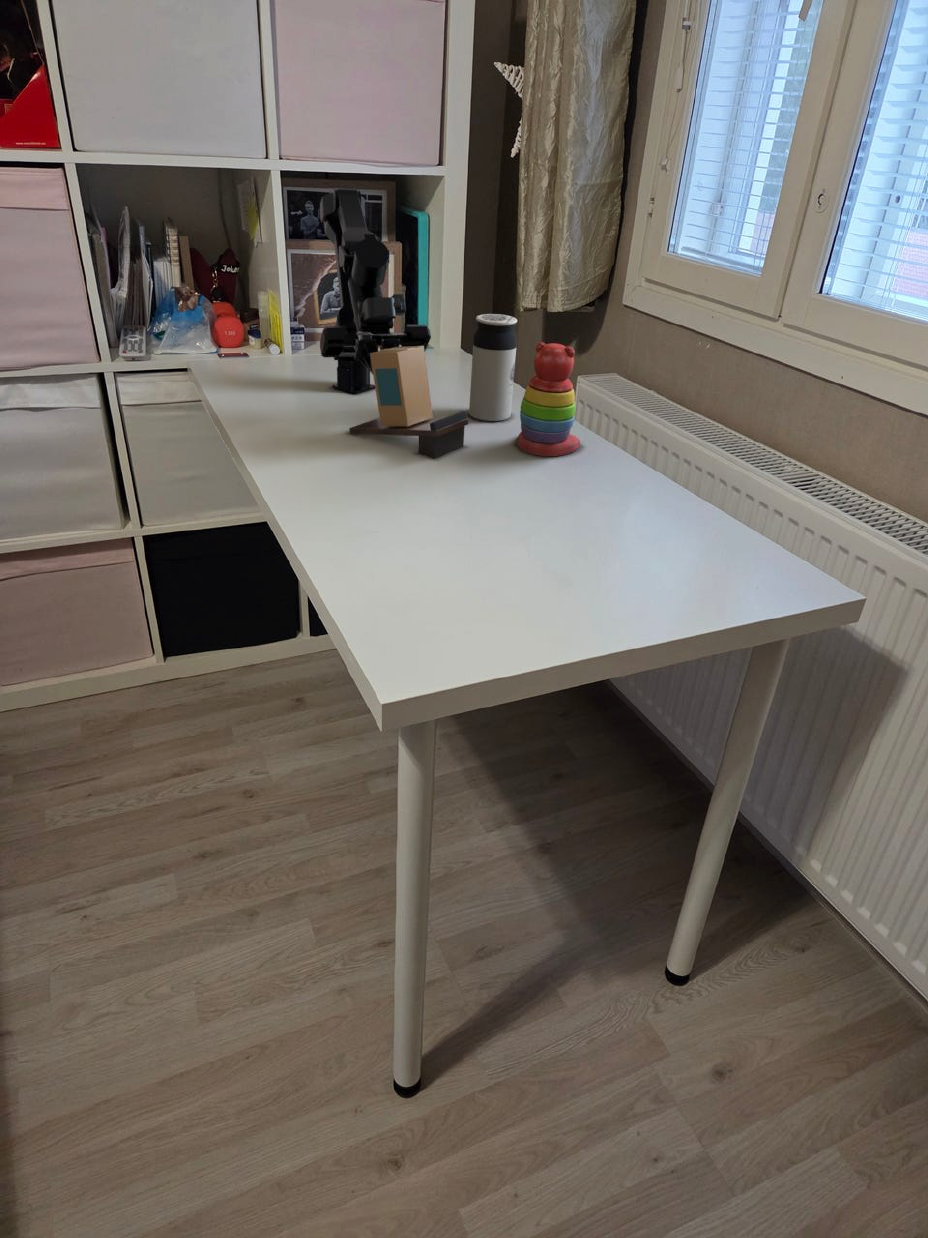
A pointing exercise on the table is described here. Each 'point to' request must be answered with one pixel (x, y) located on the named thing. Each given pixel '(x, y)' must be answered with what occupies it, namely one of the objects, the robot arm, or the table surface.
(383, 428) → the ramp
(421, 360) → the carton
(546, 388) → the stacking bear
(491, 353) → the travel mug
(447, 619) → the table surface
